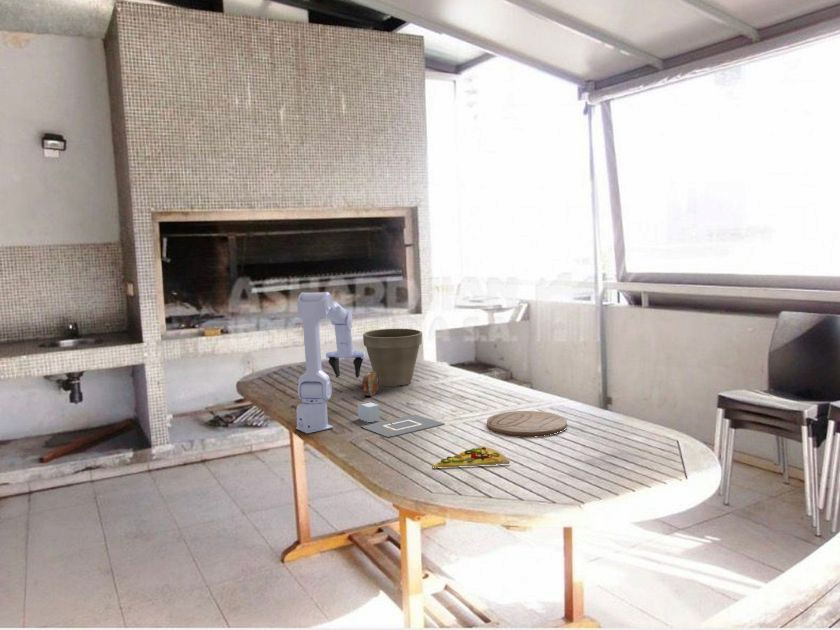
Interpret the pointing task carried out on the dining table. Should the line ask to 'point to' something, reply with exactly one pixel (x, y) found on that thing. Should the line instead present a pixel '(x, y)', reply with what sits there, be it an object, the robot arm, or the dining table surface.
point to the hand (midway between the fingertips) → (347, 376)
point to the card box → (368, 411)
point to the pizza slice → (475, 458)
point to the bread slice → (370, 383)
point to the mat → (403, 425)
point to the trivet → (526, 423)
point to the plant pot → (393, 354)
